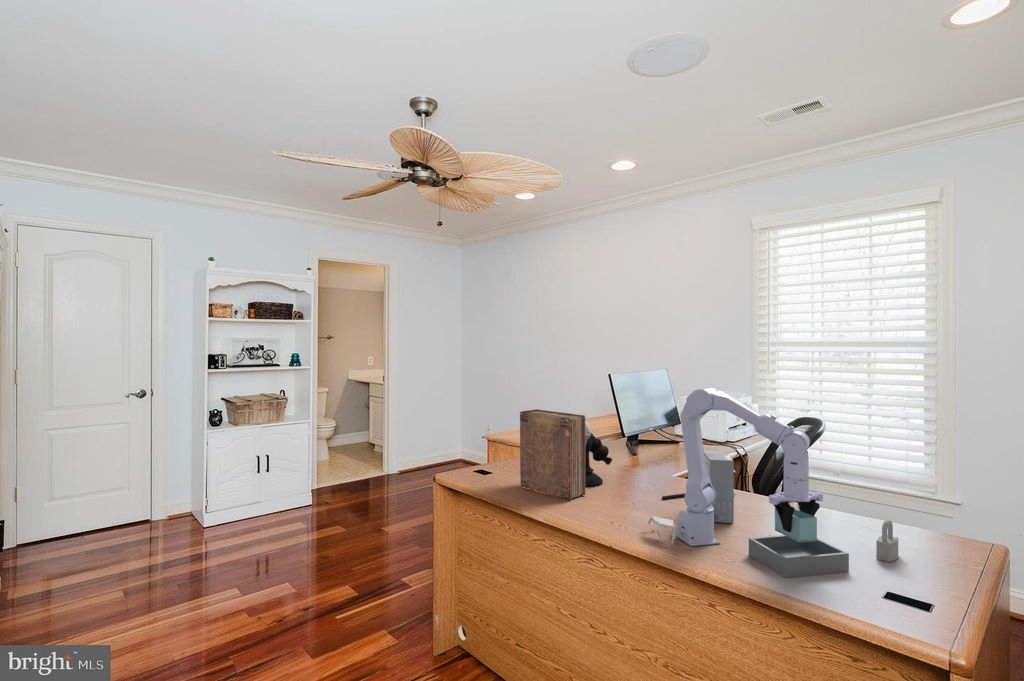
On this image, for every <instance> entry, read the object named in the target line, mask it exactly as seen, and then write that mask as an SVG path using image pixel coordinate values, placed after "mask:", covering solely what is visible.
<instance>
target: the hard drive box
mask: <svg viewBox="0 0 1024 681" xmlns="http://www.w3.org/2000/svg"><path fill="white" fill-rule="evenodd" d="M704 455H705V462H706V470H707V475H708V476H709V478H710V479H711V484H712V486H713V488H714V489H715V492H716V499H715V501H714V502H713V503H712V506H713V508H714V523H724V524H725V523H726V524H734V520H735V519H734V517H735V516H734V514H735V512H734V508H735V507H734V502H735V501H734V500H735V498H734V497H735V496H734V490H735V488H734V487H735V485H734V482H735V480H734V479H735V478H734V477H735V476H734V475H735V470H734V469H735V468H734V467H735V466H734V465H735V461H734V460H733V458H732V457H730V456H729V454H727V453H726V452H725V451H720V450H719V451H718V450H704Z"/></svg>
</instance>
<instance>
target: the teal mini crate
mask: <svg viewBox="0 0 1024 681" xmlns="http://www.w3.org/2000/svg"><path fill="white" fill-rule="evenodd" d="M817 519H818V517H817V516H815V515H814V516H812V515H810V514H807V513H805V512H802V511H800V509H797V508H795V510H794V512H793V516H792V528H791V532H787V531H785V530H783V527H782V523H781V520H780V517H779V514H778V512H777V510H776V508H775V507H774V530H775V531H776V532H777V533H780V535H785V536H787V537H789V538H791V539H793V540H795V541H797V542H799V543H803V542H814V541H817V538H818V521H817Z"/></svg>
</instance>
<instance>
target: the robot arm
mask: <svg viewBox="0 0 1024 681" xmlns="http://www.w3.org/2000/svg"><path fill="white" fill-rule="evenodd" d="M710 411H726V412H728V413H729V414H732V415H734V416H736V417H737V418H739V419H741V420H743V421H744V422H747V423H749V424H750V425H752V426H753V427H754V430H755V432H756V434H759V435H760V436H762V437H764V438H766V439H768V440H769V441H771V442H772V443H774V444H776V445H777V446H780V447H781V450H782V451H784V453H783V454H784V455H783V491H781V492H779V493H776V494H769V495H768V500H769V501H768V503H769V504H771V505H773V507H774V509H775V508H776V510H777V512H778V514H779V517H780V520H781V523H782V527H783V530H785V531H787V532H791V528H792V516H793V512H794V510H795V509H796V508H795V507H794V506H791V504H792V503H797V504H798V508H799V509H798V510H800V511H802V512H805V513H807V514H810V515H812V516H814V517H815V515H816V513H817V512H818V511H819V509H820V503H818V502H823V501H824V500H823V499H824V497H823V496H824V494H823V493H822V492H819V491H810V490H809V489H810V486H809V485H810V484H809V483H810V480H809V477H810V475H809V474H810V472H809V471H810V470H809V463H810V462H809V453H808V449H809V447H810V444H811V440H810V437H809V436H808V434H806V433H805V432H804V431H803V430H801V429H795V426H792V425H787V424H786V423H784V422H783V421H781V420H779V419H777V418H778V416H776V415H775V414H771V415H770V414H767V413H765V414H759V413H757V412H755V411H754V410H752V409H751V408H749V407H747V406H746V405H744V404H743V403H742V402H740V401H738V400H737V399H736V398H733V397H732V396H730V395H728V394H727V393H725V392H723V391H722V390H718V389H716V388H715V387H713V386H708V387H704V388H701V389H700V388H699V389H695V390H693V391H692V392H691V393H690V394H688V396H687V397H686V402H685V403H684V406H683V408H682V411H681V413H680V424H681V425H680V426H681V432H682V439H683V440H682V441H683V445H684V453H685V461H686V468H687V481H686V483H685V488H686V489H685V490H686V491H685V493H686V494H685V497H684V503H685V505H686V508H685V509H682V510H679V512H678V515H677V526H678V530H677V534H676V537H677V538H679V539H680V540H681V541H683V542H685V544H687V545H688V546H690V547H697V546H704V545H705V546H706V545H707V546H708V545H717V544H721V541H720V540H719V539H717V538H716V537H715V535H714V534H715V528H714V527H715V522H714V508H713V506H712V503H713V502H714V501H715V499H716V492H715V489H714V488H713V486H712V484H711V479H710V478H709V476H708V475H707V470H706V462H705V455H704V451H705V448H704V441H703V435H702V428H701V420H702V419H703V418H704V417H705V415H706V414H707V413H708V412H710Z"/></svg>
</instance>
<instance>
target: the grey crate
mask: <svg viewBox="0 0 1024 681" xmlns="http://www.w3.org/2000/svg"><path fill="white" fill-rule="evenodd" d="M748 555H749V556H750V557H752V558H754V559H755V560H756V561H758V562H760V563H761V564H763V565H764V566H766V567H767V568H769V569H771V570H772V571H774V572H775V573H777V574H779V575H780V576H782V577H783V578H784V579H792V578H799V577H800V578H801V577H809V576H817V575H827V574H836V573H837V574H839V573H845V572H846V573H847V572H849V571H850V568H849V567H850V561H849V560H850V553H849V552H847V551H845V550H843V549H841V548H838V547H837V546H835V545H833V544H831V543H828V542H827V541H825V540H822V539H820V538H818V537H817V541H814V542H803V543H799V542H797V541H795V540H793V539H791V538H789V537H787V536H785V535H783V534H778V535H768V536H755V537H748Z"/></svg>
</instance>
